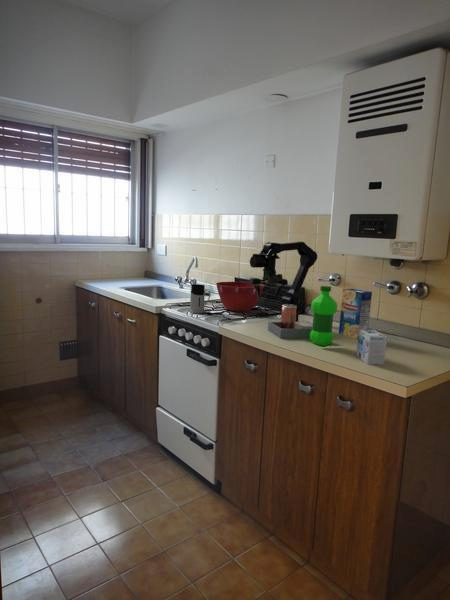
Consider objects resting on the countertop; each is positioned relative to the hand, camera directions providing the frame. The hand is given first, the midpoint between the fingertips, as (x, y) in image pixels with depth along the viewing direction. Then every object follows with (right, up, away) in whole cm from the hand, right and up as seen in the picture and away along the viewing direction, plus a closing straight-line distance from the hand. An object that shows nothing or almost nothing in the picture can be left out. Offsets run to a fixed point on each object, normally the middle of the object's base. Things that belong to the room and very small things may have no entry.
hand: (267, 298), depth 214 cm
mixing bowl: (-13, -7, +37) cm, 40 cm away
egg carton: (+15, -16, -20) cm, 30 cm away
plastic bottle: (+19, -20, -35) cm, 45 cm away
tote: (+10, -17, -22) cm, 29 cm away
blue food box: (+37, -18, -19) cm, 46 cm away
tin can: (+7, -16, -23) cm, 29 cm away
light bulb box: (+33, -24, -54) cm, 68 cm away
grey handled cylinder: (-35, -8, +23) cm, 43 cm away
